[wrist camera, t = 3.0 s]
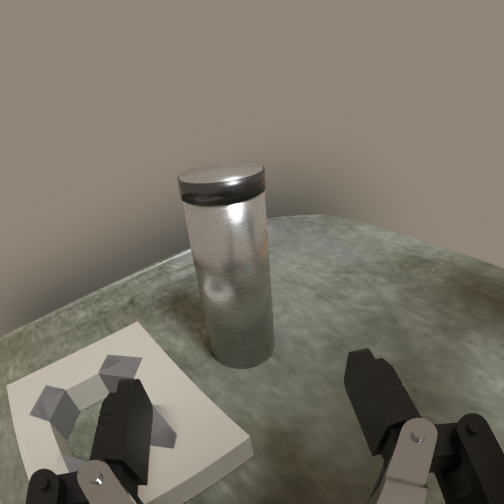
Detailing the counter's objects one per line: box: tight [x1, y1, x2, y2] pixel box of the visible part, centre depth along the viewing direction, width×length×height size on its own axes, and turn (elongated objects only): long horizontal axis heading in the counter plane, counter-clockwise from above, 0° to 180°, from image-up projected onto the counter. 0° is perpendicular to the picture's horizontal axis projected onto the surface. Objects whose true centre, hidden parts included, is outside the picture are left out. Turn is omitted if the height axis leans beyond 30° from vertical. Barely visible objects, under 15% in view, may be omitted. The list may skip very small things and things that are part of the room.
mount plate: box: [7, 322, 254, 504], centre depth 17 cm, size 13×14×2 cm
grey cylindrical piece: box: [178, 161, 275, 369], centre depth 22 cm, size 5×5×14 cm
